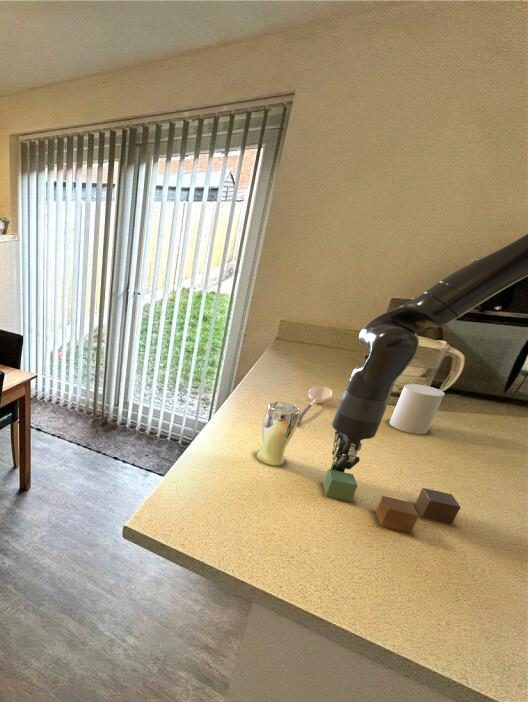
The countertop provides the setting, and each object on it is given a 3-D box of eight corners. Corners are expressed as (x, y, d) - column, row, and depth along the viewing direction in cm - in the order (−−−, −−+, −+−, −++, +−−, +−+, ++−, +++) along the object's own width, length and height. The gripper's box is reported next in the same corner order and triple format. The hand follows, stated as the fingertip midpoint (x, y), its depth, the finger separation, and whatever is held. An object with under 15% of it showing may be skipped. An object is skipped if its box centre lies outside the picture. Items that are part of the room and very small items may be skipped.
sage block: (346, 490, 89) (353, 474, 88) (351, 502, 86) (357, 485, 84) (322, 484, 91) (328, 468, 90) (325, 496, 88) (332, 479, 86)
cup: (433, 435, 110) (451, 397, 105) (397, 431, 113) (413, 393, 108) (418, 422, 117) (434, 386, 112) (384, 418, 120) (398, 382, 115)
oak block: (403, 519, 81) (411, 502, 79) (410, 533, 77) (419, 516, 75) (375, 512, 83) (382, 495, 81) (380, 526, 79) (388, 508, 77)
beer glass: (271, 450, 105) (285, 399, 99) (292, 464, 99) (308, 412, 93) (248, 452, 104) (261, 402, 98) (268, 468, 98) (283, 415, 92)
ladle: (333, 397, 132) (337, 385, 129) (303, 438, 117) (307, 426, 115) (312, 391, 136) (315, 379, 134) (280, 430, 121) (283, 418, 119)
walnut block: (442, 511, 83) (451, 494, 81) (451, 524, 79) (461, 507, 77) (414, 504, 85) (422, 487, 83) (421, 517, 81) (430, 500, 79)
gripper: (390, 430, 78) (360, 499, 85) (374, 403, 88) (349, 466, 95) (343, 421, 81) (318, 488, 88) (333, 397, 92) (312, 458, 99)
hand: (334, 477), depth 92 cm, fingers closed
